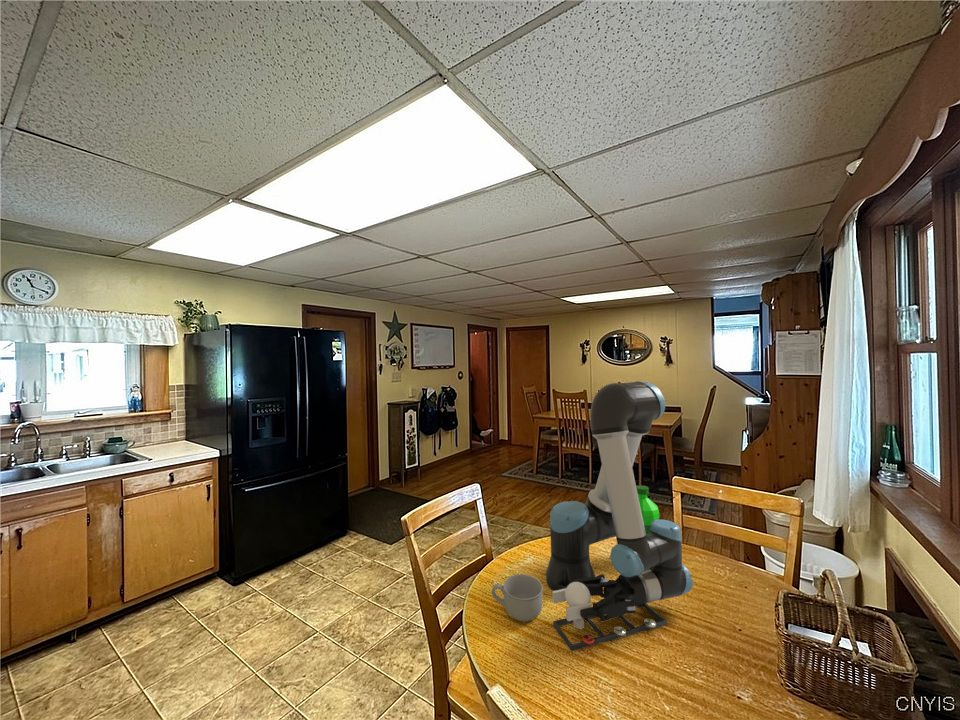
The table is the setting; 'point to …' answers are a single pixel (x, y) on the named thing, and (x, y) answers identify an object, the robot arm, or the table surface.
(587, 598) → the lightbulb
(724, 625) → the table surface
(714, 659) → the table surface
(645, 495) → the plastic bottle
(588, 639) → the dark grey flat frame
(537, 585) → the teacup
